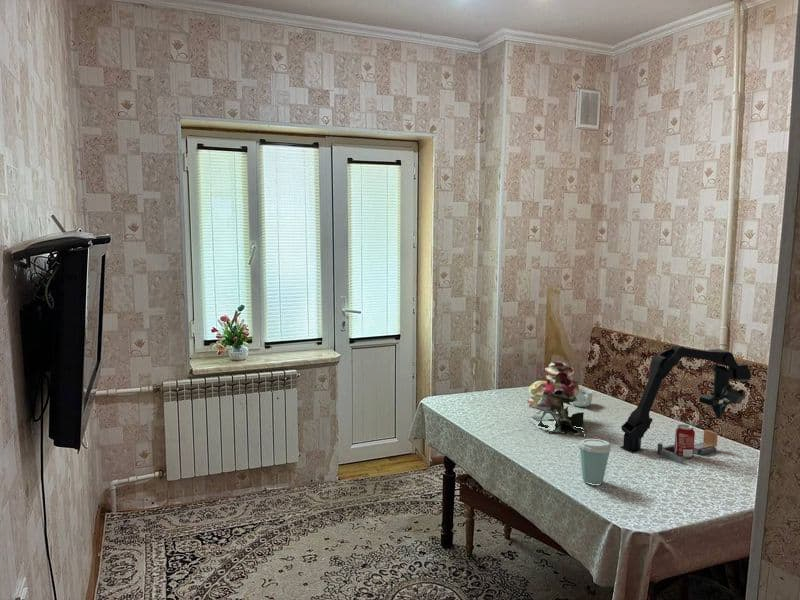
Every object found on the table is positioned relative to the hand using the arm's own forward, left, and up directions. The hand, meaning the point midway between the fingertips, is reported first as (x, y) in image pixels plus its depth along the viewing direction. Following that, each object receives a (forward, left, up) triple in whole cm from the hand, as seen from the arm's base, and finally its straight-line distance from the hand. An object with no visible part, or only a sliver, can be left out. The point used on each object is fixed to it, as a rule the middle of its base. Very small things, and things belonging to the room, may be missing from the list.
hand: (719, 418), depth 235 cm
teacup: (-9, +68, -13) cm, 70 cm away
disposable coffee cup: (-70, -3, -13) cm, 71 cm away
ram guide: (-9, 0, -12) cm, 15 cm away
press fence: (-22, 0, -12) cm, 25 cm away
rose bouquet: (-41, +50, -13) cm, 66 cm away
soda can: (-20, 0, -13) cm, 24 cm away
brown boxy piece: (-9, 0, -12) cm, 15 cm away
